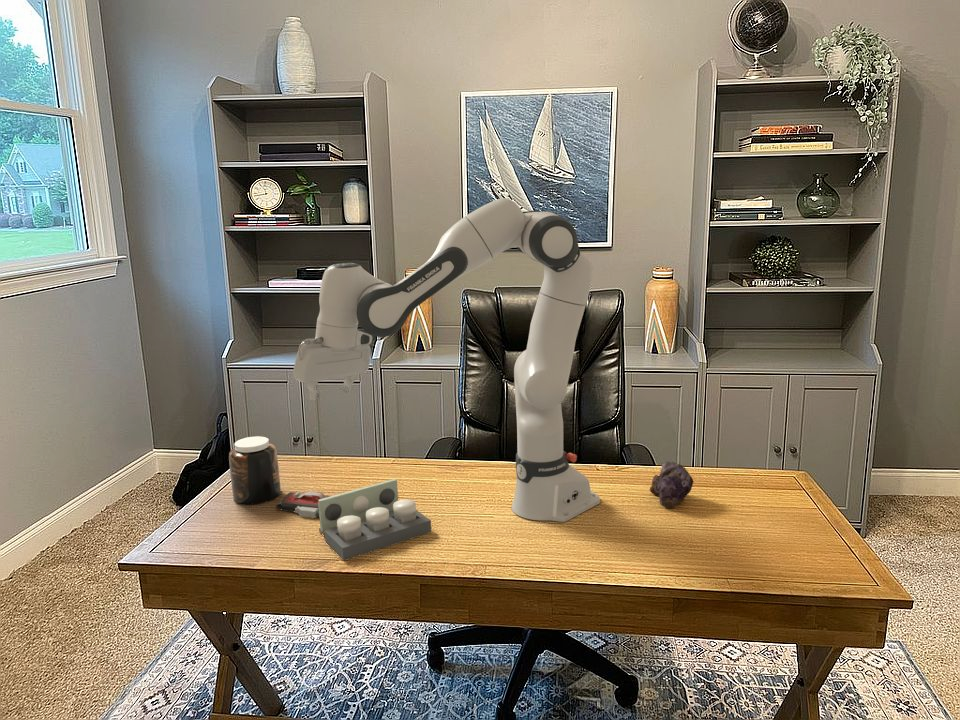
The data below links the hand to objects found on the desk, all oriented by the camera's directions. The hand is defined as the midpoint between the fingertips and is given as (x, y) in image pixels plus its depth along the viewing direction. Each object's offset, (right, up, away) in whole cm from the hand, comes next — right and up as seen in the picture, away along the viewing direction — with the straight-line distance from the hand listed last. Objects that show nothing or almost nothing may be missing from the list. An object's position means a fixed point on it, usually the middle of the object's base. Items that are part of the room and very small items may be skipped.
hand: (329, 396), depth 168 cm
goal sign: (+5, -31, +13) cm, 34 cm away
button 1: (+4, -32, +1) cm, 32 cm away
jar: (-25, -28, +30) cm, 47 cm away
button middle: (+10, -31, +4) cm, 33 cm away
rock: (+81, -27, +20) cm, 88 cm away
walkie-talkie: (-7, -30, +20) cm, 37 cm away
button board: (+10, -33, +5) cm, 34 cm away
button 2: (+16, -30, +8) cm, 35 cm away
